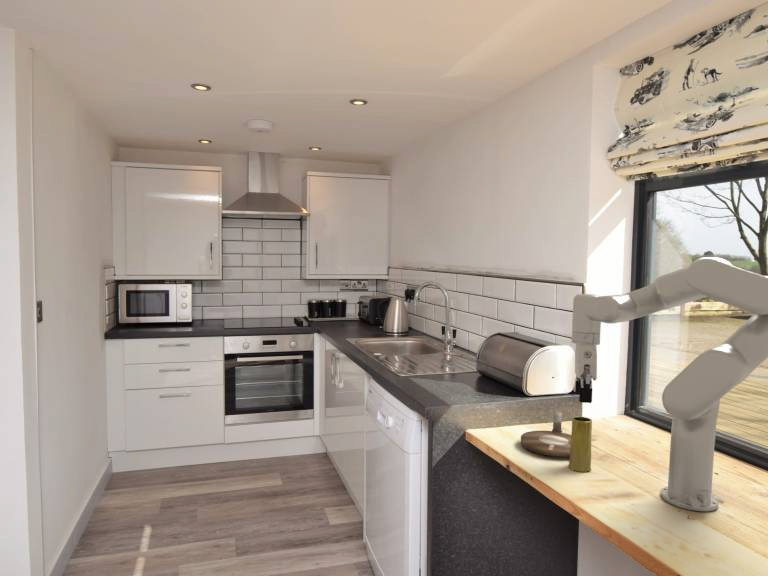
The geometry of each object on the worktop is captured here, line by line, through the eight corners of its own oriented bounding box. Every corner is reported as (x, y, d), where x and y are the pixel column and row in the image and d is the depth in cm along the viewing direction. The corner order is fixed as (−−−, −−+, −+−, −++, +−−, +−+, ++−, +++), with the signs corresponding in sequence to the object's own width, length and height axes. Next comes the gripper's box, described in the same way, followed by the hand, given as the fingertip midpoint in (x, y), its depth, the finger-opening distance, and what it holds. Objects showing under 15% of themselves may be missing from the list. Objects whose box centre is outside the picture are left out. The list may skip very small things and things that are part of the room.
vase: (569, 471, 156) (571, 421, 155) (567, 463, 162) (569, 415, 161) (592, 473, 155) (595, 423, 154) (589, 465, 161) (592, 417, 160)
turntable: (591, 459, 162) (593, 434, 162) (521, 452, 166) (522, 428, 166) (581, 436, 184) (582, 413, 184) (519, 430, 189) (520, 408, 188)
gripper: (605, 343, 147) (602, 407, 148) (595, 334, 164) (592, 392, 165) (575, 341, 149) (572, 404, 150) (568, 333, 166) (566, 390, 167)
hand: (583, 398), depth 157 cm, fingers open, 9 cm apart
